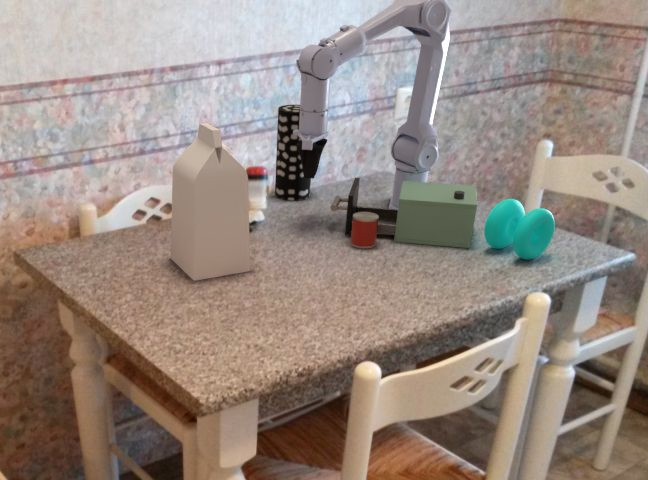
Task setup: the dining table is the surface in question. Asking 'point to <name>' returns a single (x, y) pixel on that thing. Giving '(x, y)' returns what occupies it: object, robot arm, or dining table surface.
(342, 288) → the dining table surface
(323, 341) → the dining table surface
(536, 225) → the turquoise yo-yo
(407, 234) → the green box with knob
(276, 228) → the dining table surface
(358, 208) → the open drawer with handle
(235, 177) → the milk
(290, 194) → the spotted tube
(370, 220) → the can
